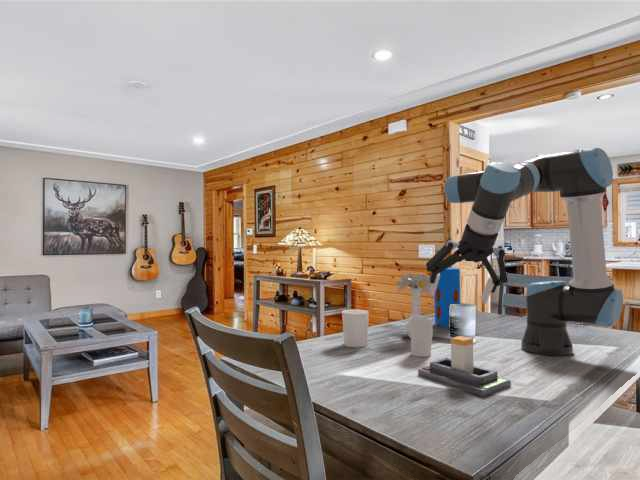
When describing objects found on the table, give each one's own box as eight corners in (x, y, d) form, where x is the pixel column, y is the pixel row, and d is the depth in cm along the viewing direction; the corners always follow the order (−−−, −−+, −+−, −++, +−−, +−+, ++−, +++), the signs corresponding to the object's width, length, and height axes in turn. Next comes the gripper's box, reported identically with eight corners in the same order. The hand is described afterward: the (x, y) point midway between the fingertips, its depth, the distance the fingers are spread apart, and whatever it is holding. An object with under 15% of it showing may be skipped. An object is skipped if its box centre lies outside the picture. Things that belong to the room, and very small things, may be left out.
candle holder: (338, 346, 144) (338, 313, 144) (347, 340, 153) (346, 308, 153) (365, 349, 140) (364, 314, 140) (372, 342, 149) (371, 310, 149)
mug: (423, 358, 128) (423, 320, 128) (406, 354, 133) (405, 318, 133) (441, 352, 134) (440, 316, 134) (424, 349, 139) (423, 314, 139)
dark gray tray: (418, 374, 112) (418, 362, 112) (445, 366, 119) (445, 354, 119) (483, 396, 96) (483, 382, 96) (510, 385, 103) (510, 372, 103)
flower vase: (440, 333, 162) (439, 271, 162) (424, 343, 146) (423, 274, 146) (409, 330, 169) (408, 270, 169) (390, 339, 154) (390, 273, 154)
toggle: (451, 373, 108) (450, 337, 108) (460, 370, 111) (460, 335, 111) (464, 377, 105) (463, 340, 105) (473, 373, 107) (473, 338, 107)
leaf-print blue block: (447, 329, 170) (446, 269, 170) (429, 324, 180) (428, 268, 180) (466, 326, 175) (465, 268, 175) (447, 322, 185) (447, 267, 185)
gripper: (431, 227, 94) (411, 297, 105) (541, 244, 92) (508, 313, 103) (428, 212, 100) (410, 280, 111) (530, 227, 98) (501, 294, 110)
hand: (457, 296), depth 107 cm, fingers open, 13 cm apart
